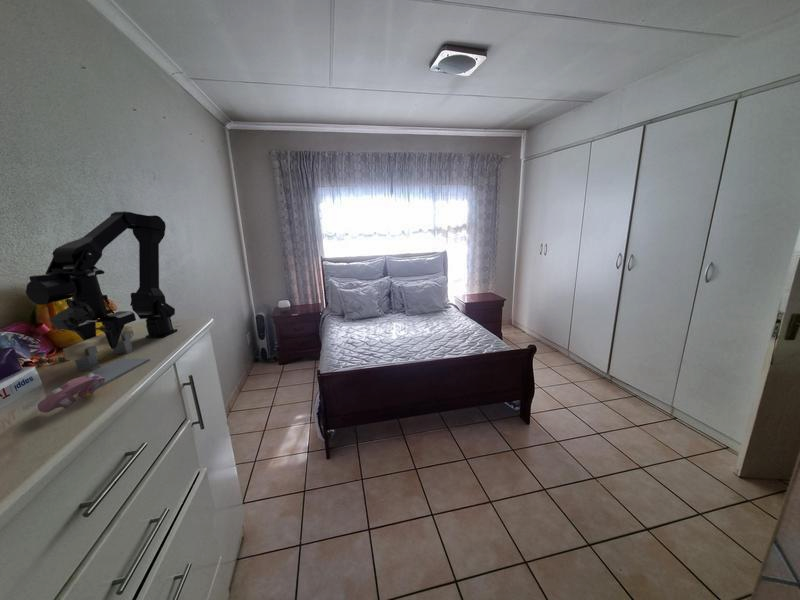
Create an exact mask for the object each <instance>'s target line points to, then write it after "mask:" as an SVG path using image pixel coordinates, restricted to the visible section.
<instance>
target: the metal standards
mask: <svg viewBox="0 0 800 600" xmlns="http://www.w3.org/2000/svg"><path fill="white" fill-rule="evenodd" d="M121 337H122V340H123V341H121V342H118V344H117V347H116V348H114V349H112V351H113V353H114V354H115V355H116V354H118V355H119V354H121V355H122V354H124V355H125V354H129V353H132V352H133V351H134V349H133V346H132V341H131V340H132V339H133V336H131V332H126V333H123V334H121ZM84 350H85V353H86V356H85V357H83V358H81V359H78V360H74V362H75V365H76V368H77V371H95V370H97V369H99V368H101V367H100V364H99V361H98V357H97V354H99V351H97V348H96V346H91V347H89V348H86V349H84Z"/></svg>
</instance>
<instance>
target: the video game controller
mask: <svg viewBox="0 0 800 600" xmlns="http://www.w3.org/2000/svg"><path fill="white" fill-rule="evenodd" d="M90 373H91V372H90ZM83 376H84V375H83ZM104 382H105V379H104V378H103V377H101V376H100V375H96V374H93V373H91V374H89V375H88V376H84V377H82V376H79V377H76V378H72V379H71V380H69V381H67V382H66V383H64V384H63V385H62V386H59V387H60V388H59V387H58V388H55V389H53V391H51V392H49V394H48V395H46V396H45V398H43V399H42V400H41V401H40V402H38V404H37V410H38V411H39V412H41V413H45V414H46V413H50V412H53V411H54V410H55V409H57V408H58V409H59V408H63V409H68V408H70V407H72V406H74V404H75V403H76V401H77V398H75V397H74V396H76V395H77V397H78V398H79V399H81V400H85V399H88V398H89V397H92V395H93V394H94V392H95V391H96V390H98V389H100V388H101V387H100V386H101V385H102V384H103V383H104ZM99 387H100V388H99Z"/></svg>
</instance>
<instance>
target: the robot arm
mask: <svg viewBox="0 0 800 600" xmlns="http://www.w3.org/2000/svg"><path fill="white" fill-rule="evenodd" d="M166 226H167V225H166V221H164V220H163V218H162V217H160V216H159V215H146V214H139V213H134V212H131V211H127V210H126V211H114V212H112V213H111V214H110V216H109V217H107V218H106V219H105V220H103V221H102V222H100V223H99V224H98V225H97V226H96V227H94V228H93V229H92V230H91V231H90V232H88V233H87V234H85V235H83V236H82V237H81V238H79V239H75V240H71V241H69V242H67V243H64V244H62V245H60V246H58V247H56V248H55V249H54V250H53V251H52V255H53V256H52V259H51V261H50V264H49V266H48V267H47V269H46V272H45V274H41V275H39V274H37V275H30V276H29V277H28V278H29V280H30V281H29V282H28V283H27V284H26V289H25V293H26V296H27V298H28V299H29V300H30V301H31V302H33V303H34V304H36V305H38V306H39V305H40V306H43V305H46V304H53V303H57V302H59V301H65V300H67V301H68V302H67V305H68V306H67V308H65V309H63V310H61V311H59V312H58V313H57V314H55V315H53V316H52V317H51V318H49V322H50V323H51V324H52V326H53V328H55V329H57V331H62V330H64V331H65V330H66V331H70V332H72V333H76V334H77V335H78V336H79V337H80V338H81V339H82V341H85V340H88V339H90V338H93V337H96V336H97V330H99V331H101V332H102V333H105V335H106V338H107V340H108V343H109V345H110V346H109V347H110V348H111V350H113V349H114V348H116V347H117V344H118V341H119V338H120V335H121V332H122V330H123V327H124V326H125V325H127V324H129V323H132V322H136V321H137V319H136V315H137V316H138V318H139V319H140V320H145V323H146V324H145V326H146V330H147V331H146V332H147V333H148V334H147V335H145V338H166V337H167V336H169V335H171V334H173V333H175V332H177V331H178V329H177V328H174V326H173V323H172V322H173V321H172V319H171V318H172V317H173V316H175V314H176V312H175V311H176V309H175V307H173V306H172V305H170V304H168V303H167V302H166V295H165V294H164V293H163V292H162V290H161V287H160V253H159V251H160V249H159V247H160V243H161V242H162V240H163V239H164V237H165V234H166ZM127 229H128V230H131V231H132V234H133V236H134V237H135V239H136V240H137V242H138V243H139V244H138V247H139V248H138V252H139V253H138V258H139V263H138V264H139V267H138V268H139V270H138V271H139V275H138V276H139V277H138V278H139V284H138V285H139V286H138V289H137V290H136V292H131V293H130V304H129V305H130V307H131V309H132V311H133V312H132V311H130V310H129V311H128V310H127V311H126V310H124V311H123V310H122V311H121V310H119V311H116V312H113V311H112V309H111V308H107V306H106V302H105V300H106V299H107V300H108V297H109V296H108V295H107V294H103V293H102V288H101V287H100V282H99V280H98V275H103V274H105V270H102V269H100V268H98V267H96V265H97V263H98V262H99V261H100V260H101V258H102V257H103V251H104V249H105V248H106V247H107V246H108V245H109V244H111V243H112V242H113V241H114V240H115V239H116V238H118V237H120V236H121V234H122V233H124V232H125V231H127ZM68 299H69V300H68ZM97 323H101V325H102V326H101V327H99V328H97Z"/></svg>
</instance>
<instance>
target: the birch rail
mask: <svg viewBox="0 0 800 600" xmlns="http://www.w3.org/2000/svg"><path fill="white" fill-rule="evenodd" d="M126 332H131V336H132V337H134V336H135V334H134V330H133V326H132V325H131V326H129V325H128V326H127V325H126V326H125V325H124V327H123V330H122V332H121V334H123V333H126ZM121 341H123V340H122V337H121V335H120V338H119V341H118V342H121ZM91 346H96V348H97V351H98V352H99V351H102V350H103V349H107V348H108V347H110V345H109V343H108V340H107V338H106V335H105V333H104V332H102V334H98V335H96V337H93V338H90V339H88V340H85V341H84V340H82V341H79V342H78V343H74V344H72V345H69V346H67V347H64V348H62V351H63V355H64V357H65V360H66V361H70V360H71V361H72V360H73V361H75V360H78V359H81V358H83V357H85V356H86V353H85V350H84V349H86V348H89V347H91Z"/></svg>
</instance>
